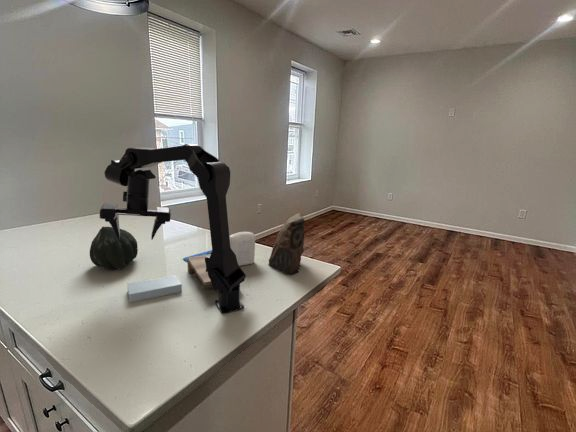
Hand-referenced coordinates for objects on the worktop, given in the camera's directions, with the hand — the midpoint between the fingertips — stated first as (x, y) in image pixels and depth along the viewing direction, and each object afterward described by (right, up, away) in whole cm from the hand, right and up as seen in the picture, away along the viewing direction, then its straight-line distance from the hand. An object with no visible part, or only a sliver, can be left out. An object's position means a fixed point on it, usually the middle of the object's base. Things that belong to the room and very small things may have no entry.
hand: (135, 238), depth 95 cm
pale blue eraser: (+7, -16, -3) cm, 18 cm away
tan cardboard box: (+22, -14, +6) cm, 27 cm away
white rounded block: (+30, -11, +19) cm, 37 cm away
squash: (-13, -10, +13) cm, 21 cm away
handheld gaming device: (+15, -10, +23) cm, 30 cm away
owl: (+46, -12, +19) cm, 52 cm away
